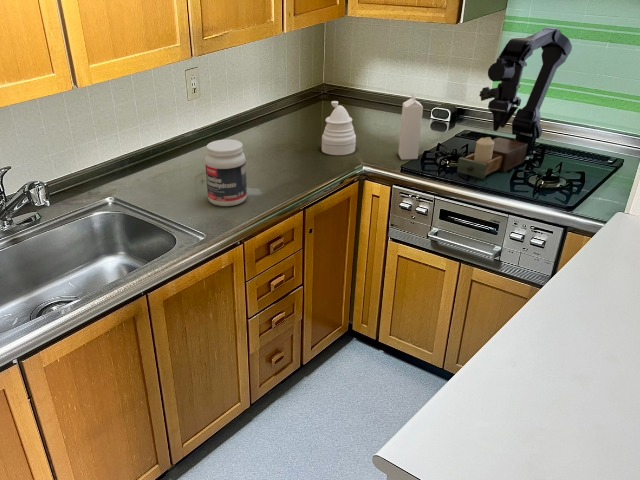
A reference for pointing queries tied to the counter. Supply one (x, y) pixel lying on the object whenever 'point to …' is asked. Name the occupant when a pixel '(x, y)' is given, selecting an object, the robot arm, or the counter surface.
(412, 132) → the milk
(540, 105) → the robot arm
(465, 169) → the drawer
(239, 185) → the supplement tub
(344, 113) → the honey pot
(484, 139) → the candle
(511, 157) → the cabinet
